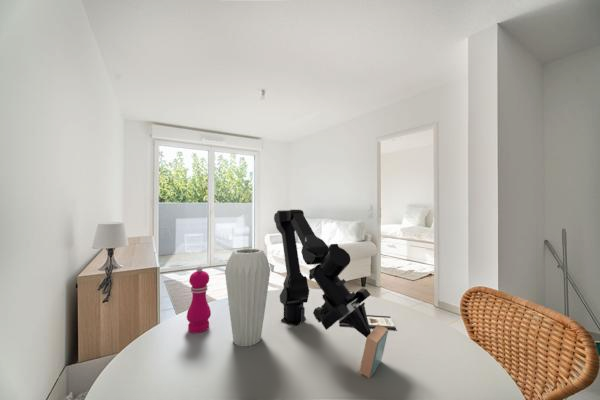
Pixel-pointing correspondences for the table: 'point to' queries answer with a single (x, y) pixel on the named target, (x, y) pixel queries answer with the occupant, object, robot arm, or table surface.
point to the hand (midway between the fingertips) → (369, 337)
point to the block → (373, 350)
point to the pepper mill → (198, 302)
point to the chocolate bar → (376, 322)
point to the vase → (247, 294)
